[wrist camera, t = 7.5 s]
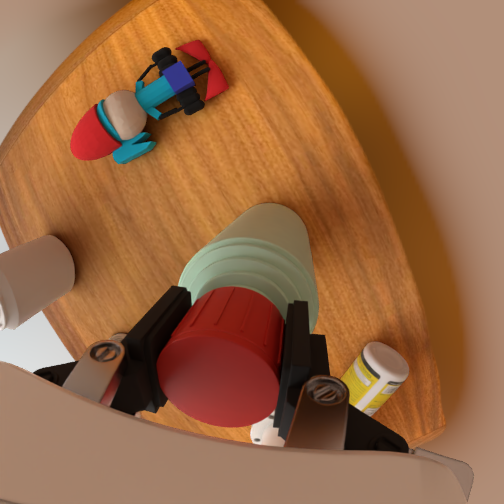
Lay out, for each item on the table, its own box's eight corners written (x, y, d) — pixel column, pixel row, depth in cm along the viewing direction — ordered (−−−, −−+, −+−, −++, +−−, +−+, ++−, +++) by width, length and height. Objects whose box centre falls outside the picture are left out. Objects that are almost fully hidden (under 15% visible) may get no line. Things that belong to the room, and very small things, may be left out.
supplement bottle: (367, 332, 27) (318, 395, 30) (367, 359, 22) (309, 425, 25) (407, 354, 25) (355, 413, 29) (414, 384, 20) (352, 445, 24)
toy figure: (198, 41, 22) (73, 127, 23) (190, 19, 17) (46, 122, 18) (236, 100, 24) (104, 186, 25) (236, 86, 19) (79, 191, 20)
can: (64, 224, 28) (-17, 256, 16) (88, 285, 29) (17, 335, 18) (33, 243, 29) (-36, 274, 18) (54, 296, 31) (-8, 339, 20)
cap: (177, 291, 11) (136, 337, 8) (277, 278, 10) (269, 328, 7) (204, 370, 12) (179, 425, 9) (293, 364, 11) (289, 426, 8)
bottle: (292, 287, 26) (280, 452, 9) (222, 262, 26) (123, 395, 10) (319, 218, 24) (366, 325, 7) (245, 192, 24) (139, 244, 8)
